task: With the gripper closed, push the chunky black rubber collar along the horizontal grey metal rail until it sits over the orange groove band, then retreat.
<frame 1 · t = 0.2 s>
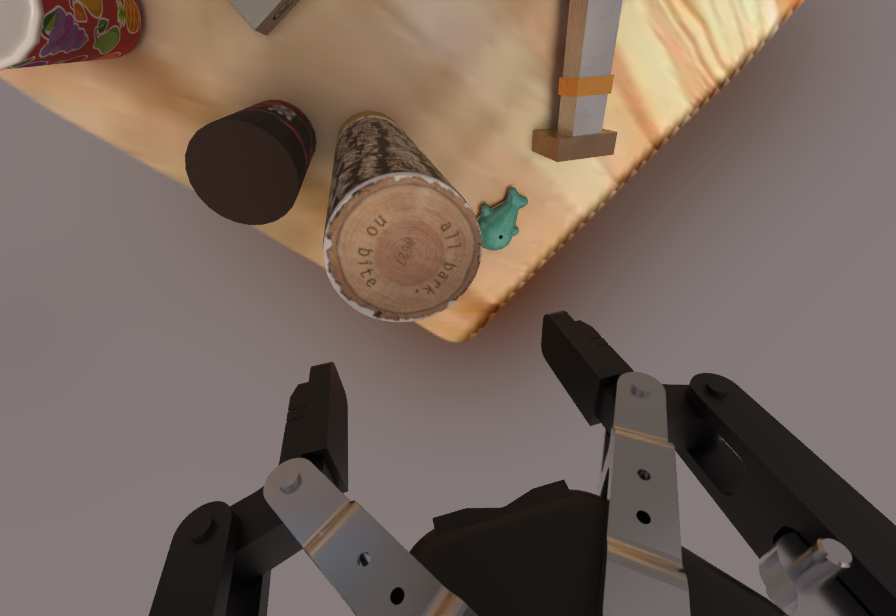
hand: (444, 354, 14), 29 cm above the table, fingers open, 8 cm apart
whale figurine: (496, 215, 43), on the table
paper tube: (372, 149, 36), on the table
smoothie: (94, 2, 26), on the table
grey bar with endplates: (569, 20, 33), on the table
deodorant: (282, 136, 33), on the table
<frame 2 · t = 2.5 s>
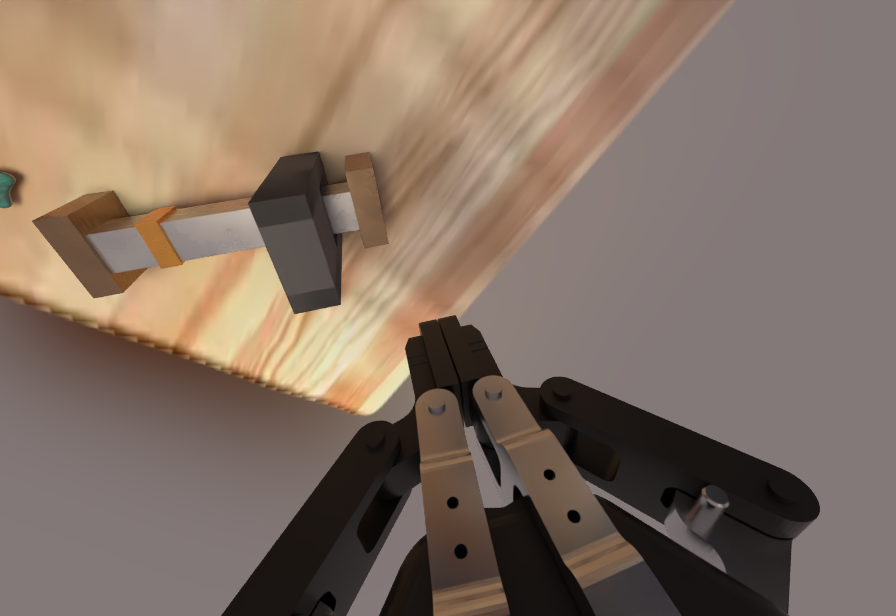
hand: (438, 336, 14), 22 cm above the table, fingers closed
grey bar with endplates: (249, 208, 31), on the table
collar: (307, 224, 26), point 6 cm above the table, slide at 0.0 cm
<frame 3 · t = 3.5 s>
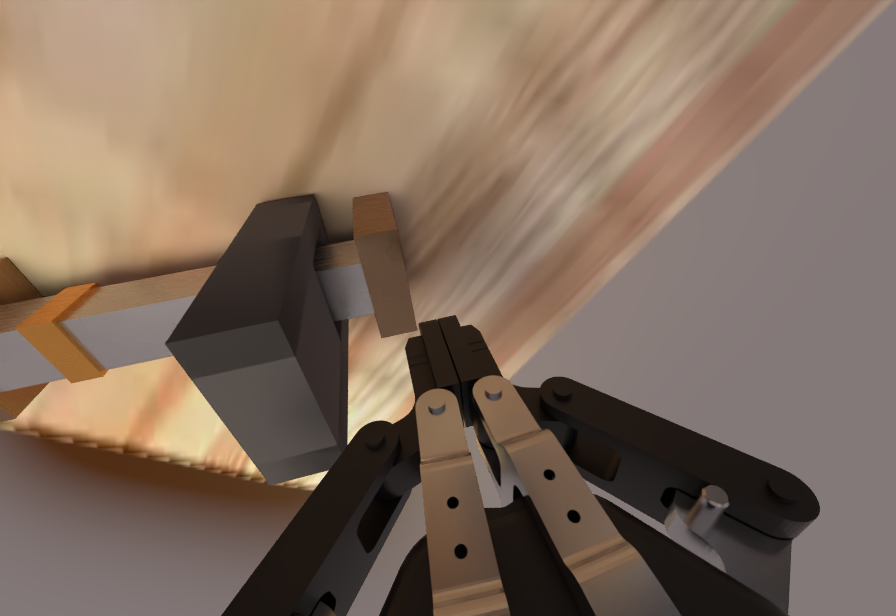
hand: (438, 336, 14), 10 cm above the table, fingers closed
grey bar with endplates: (215, 273, 22), on the table
collar: (295, 315, 17), point 7 cm above the table, slide at 0.0 cm
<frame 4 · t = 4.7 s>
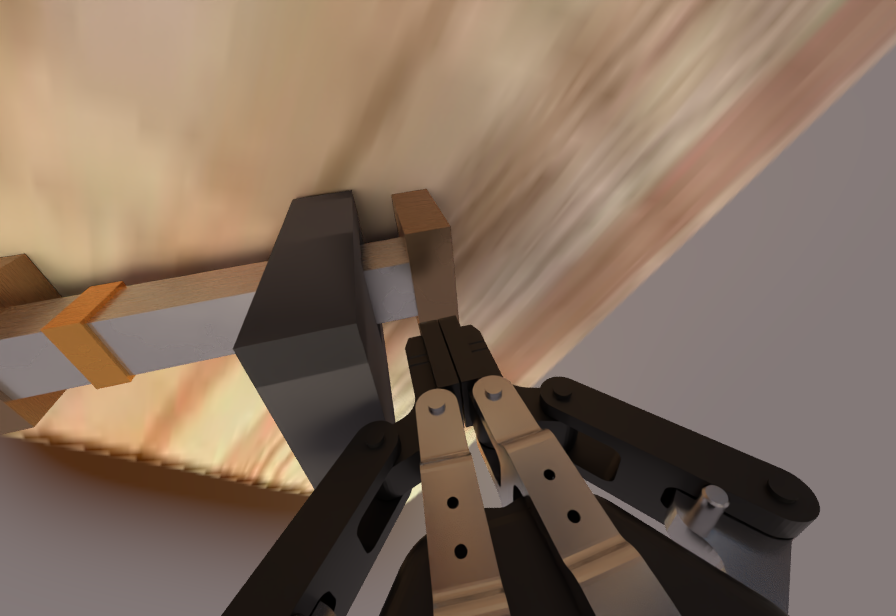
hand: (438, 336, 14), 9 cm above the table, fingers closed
grey bar with endplates: (243, 272, 20), on the table
collar: (339, 317, 16), point 6 cm above the table, slide at 0.0 cm, touching gripper
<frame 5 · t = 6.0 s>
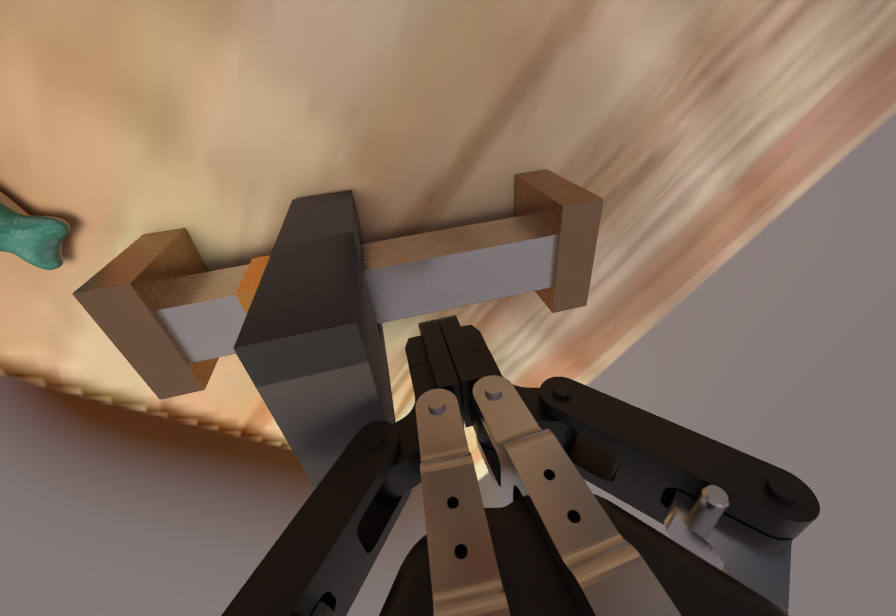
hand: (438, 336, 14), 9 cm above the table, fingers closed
grey bar with endplates: (371, 249, 21), on the table
collar: (339, 317, 16), point 6 cm above the table, slide at 7.3 cm, touching gripper
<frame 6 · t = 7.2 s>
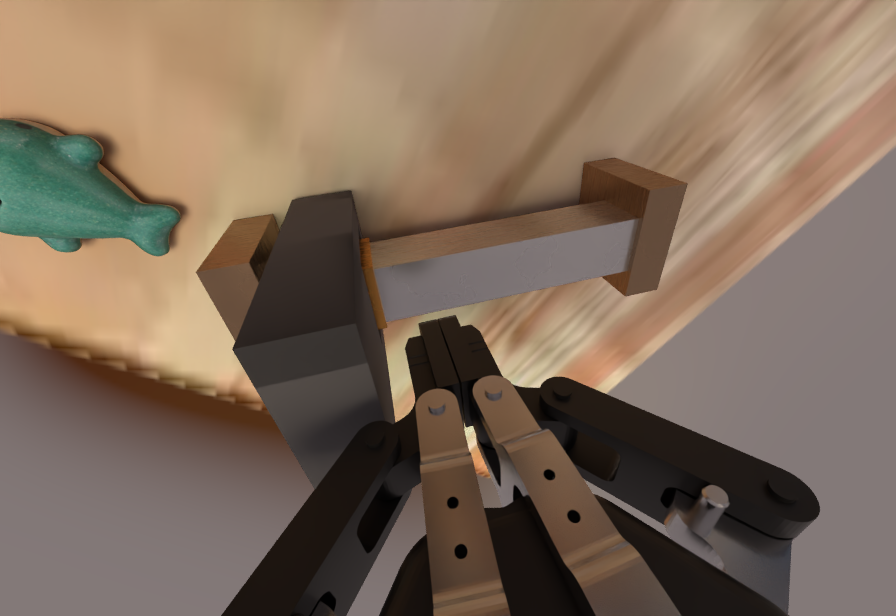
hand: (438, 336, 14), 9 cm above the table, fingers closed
whale figurine: (96, 188, 17), on the table
grey bar with endplates: (443, 236, 22), on the table
collar: (339, 317, 16), point 6 cm above the table, slide at 11.7 cm, touching gripper
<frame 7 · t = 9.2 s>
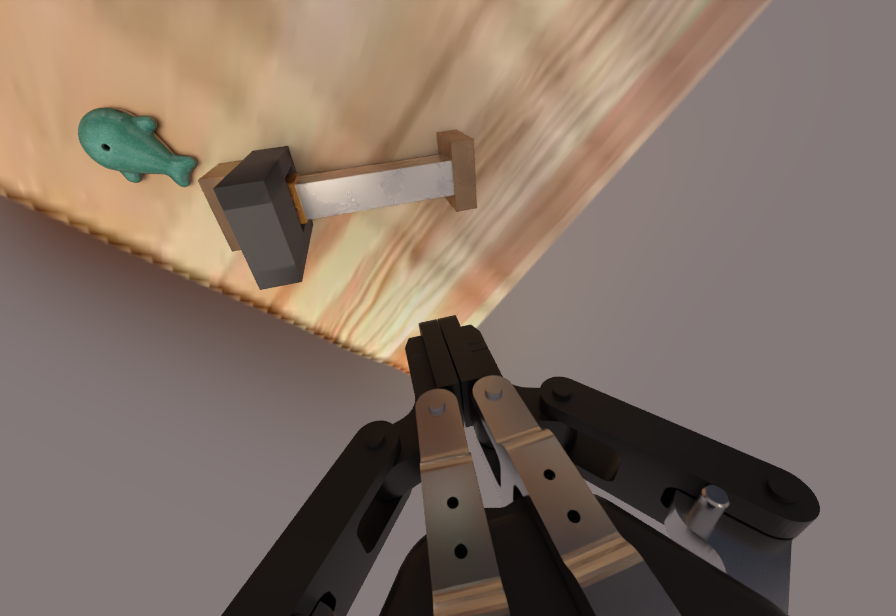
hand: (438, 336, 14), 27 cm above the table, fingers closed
whale figurine: (149, 147, 31), on the table
grey bar with endplates: (351, 178, 35), on the table
collar: (275, 210, 29), point 6 cm above the table, slide at 11.8 cm
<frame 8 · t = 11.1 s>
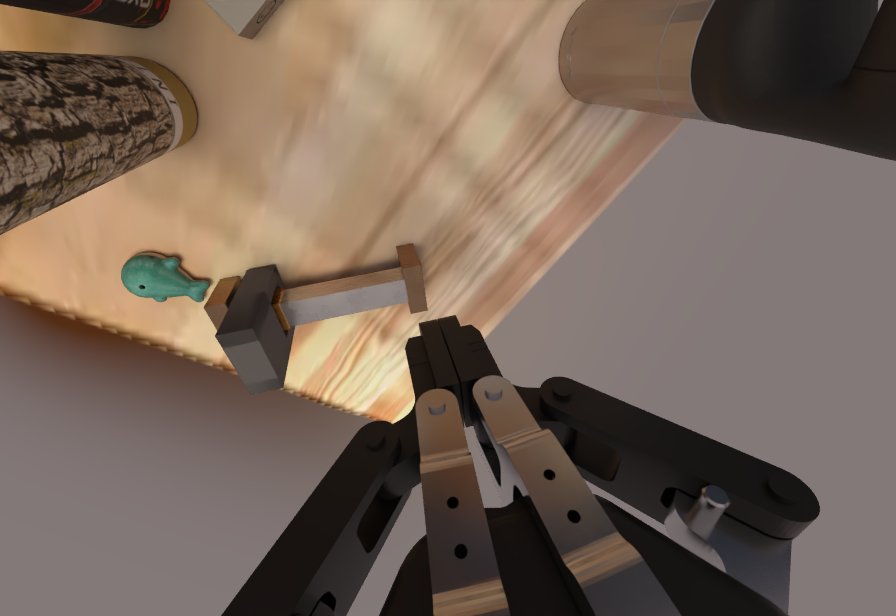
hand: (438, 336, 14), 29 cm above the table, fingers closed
whale figurine: (173, 273, 39), on the table
paper tube: (154, 104, 31), on the table
grey bar with endplates: (327, 282, 44), on the table
collar: (263, 325, 37), point 6 cm above the table, slide at 11.8 cm
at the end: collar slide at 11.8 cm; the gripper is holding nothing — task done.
